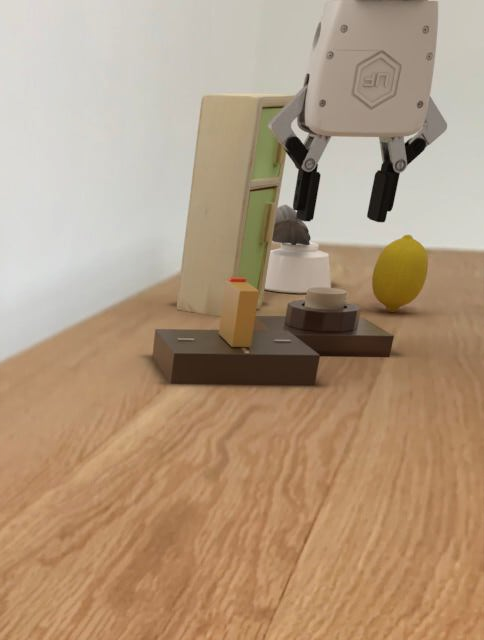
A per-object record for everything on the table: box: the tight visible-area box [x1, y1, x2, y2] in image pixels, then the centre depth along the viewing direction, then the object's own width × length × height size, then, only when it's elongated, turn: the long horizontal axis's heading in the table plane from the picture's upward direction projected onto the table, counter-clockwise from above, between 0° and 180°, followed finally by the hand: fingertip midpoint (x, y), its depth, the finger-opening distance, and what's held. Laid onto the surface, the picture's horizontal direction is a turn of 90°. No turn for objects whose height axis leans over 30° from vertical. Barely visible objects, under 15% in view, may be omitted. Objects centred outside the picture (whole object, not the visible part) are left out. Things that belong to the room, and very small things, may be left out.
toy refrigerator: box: [176, 92, 295, 318], centre depth 119 cm, size 8×7×21 cm
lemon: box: [371, 234, 429, 313], centre depth 122 cm, size 6×6×8 cm
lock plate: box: [151, 328, 321, 387], centre depth 96 cm, size 12×10×3 cm
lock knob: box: [218, 277, 259, 348], centre depth 94 cm, size 6×2×5 cm, turn 179°
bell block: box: [253, 298, 395, 358], centre depth 106 cm, size 11×9×4 cm
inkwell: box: [264, 204, 332, 294], centre depth 132 cm, size 9×18×10 cm, turn 150°
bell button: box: [304, 287, 348, 310], centre depth 105 cm, size 4×4×2 cm
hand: (340, 218), depth 101 cm, fingers open, 5 cm apart
